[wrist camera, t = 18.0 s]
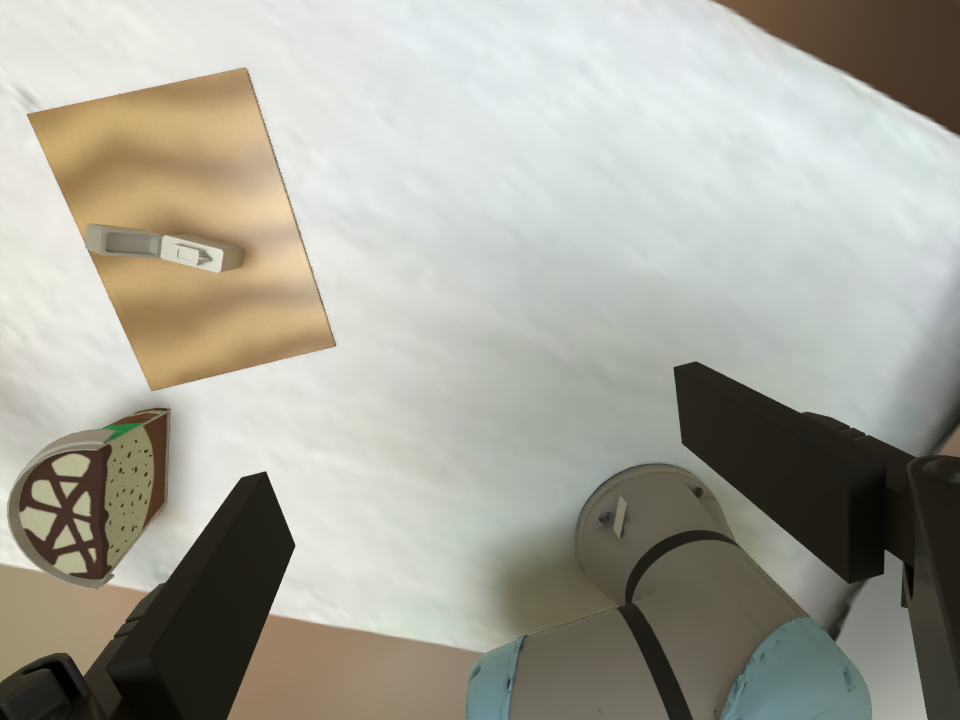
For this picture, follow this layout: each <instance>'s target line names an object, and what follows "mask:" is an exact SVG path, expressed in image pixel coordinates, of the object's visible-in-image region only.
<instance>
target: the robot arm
mask: <svg viewBox="0 0 960 720" xmlns="http://www.w3.org/2000/svg"><path fill="white" fill-rule="evenodd" d="M674 376H675V385H676V393H677V402H678V411H679V420H680V429H681V438H682V444H683V445H684V446H686V447H687V448H688V449H689V450H690V451H692V452H693V453H694V454H695V455H696V456H698V457H699V458H700V459H701V460H702V461H703V462H705V463H706V464H707V465H708V466H709V467H711V468H712V469H713V470H714V471H715V472H717V473H718V474H719V475H720V476H721V477H723V478H724V479H725V480H726V481H727V482H728V483H730V484H731V485H732V486H733V487H734V488H736V489H737V490H738V491H739V492H740V493H742V494H743V495H744V496H745V497H746V498H747V499H749V500H750V501H751V502H752V503H753V504H755V505H756V506H757V507H758V508H759V509H761V510H762V511H763V512H764V513H765V514H767V515H768V516H769V517H770V518H771V519H772V520H774V521H775V522H776V523H777V524H778V525H780V526H781V527H782V528H783V529H784V530H786V531H787V532H788V533H789V534H790V535H792V536H793V537H794V538H795V539H796V540H797V541H799V542H800V543H801V544H802V545H803V546H805V547H806V548H807V549H808V550H809V551H811V552H812V553H813V554H814V555H815V556H817V557H818V558H819V559H820V560H821V561H822V562H824V563H825V564H826V565H827V566H828V567H830V568H831V569H832V570H833V571H834V572H836V573H837V574H838V575H839V576H840V577H841V578H843V579H844V580H845V581H846V582H847V583H849V584H850V583H854V582H857V581H861V580H864V579H868V578H872V577H875V576H878V575H882V574H884V550H885V549H886V550H887V551H889V552H890V553H892V554H893V555H895V556H896V557H897V558H899V559H900V560H902V561H903V571H902V596H901V607H904V608H908V611H909V617H910V623H911V628H912V634H913V639H914V645H915V651H916V657H917V662H918V668H919V673H920V679H921V685H922V690H923V696H924V702H925V707H926V713H927V718H928V720H960V458H959V457H953V456H946V455H929V456H923V457H918V458H916V457H914V456H912V455H910V454H908V453H906V452H904V451H902V450H899V449H897V448H895V447H893V446H891V445H889V444H887V443H885V442H882V441H880V440H878V439H876V438H874V437H872V436H870V435H867V436H866V435H865V433H863V432H861V431H859V430H857V429H855V428H850V426H848V425H846V424H844V423H842V422H840V421H838V420H836V419H834V418H831V417H828V416H823V415H819V414H815V413H811V412H804V413H799V412H797V411H795V410H793V409H791V408H789V407H787V406H785V405H783V404H781V403H779V402H777V401H775V400H773V399H771V398H769V397H767V396H765V395H763V394H761V393H759V392H757V391H755V390H753V389H751V388H749V387H747V386H745V385H743V384H741V383H739V382H737V381H735V380H733V379H731V378H729V377H727V376H725V375H723V374H721V373H719V372H717V371H715V370H713V369H711V368H709V367H707V366H705V365H703V364H701V363H699V362H697V361H696V362H692V363H688V364H684V365H680V366H676V367H674ZM294 548H295V543H294V541H293V538H292V535H291V533H290V530H289V528H288V525H287V523H286V520H285V518H284V515H283V513H282V510H281V508H280V505H279V503H278V500H277V498H276V495H275V493H274V490H273V488H272V485H271V483H270V480H269V478H268V475H267V473H266V471H265V472H261V473H257V474H254V475H250V476H246V477H242V478H241V479H240V480H239V481H238V483H237V484H236V486H235V487H234V488H233V490H232V491H231V492H230V494H229V495H228V497H227V498H226V499H225V501H224V502H223V504H222V505H221V506H220V508H219V509H218V511H217V512H216V513H215V515H214V516H213V518H212V519H211V520H210V522H209V523H208V525H207V526H206V527H205V529H204V530H203V532H202V533H201V534H200V536H199V537H198V539H197V540H196V541H195V543H194V544H193V546H192V547H191V548H190V550H189V551H188V553H187V554H186V555H185V557H184V558H183V559H182V561H181V562H180V564H179V565H178V566H177V568H176V569H175V571H174V572H173V573H172V575H171V576H170V578H169V579H168V580H167V582H166V583H162V584H159V585H158V586H157V587H156V588H155V589H154V590H153V591H151V592H150V593H149V594H148V595H147V596H146V597H145V598H144V599H142V600H141V601H140V602H139V603H138V605H137V606H136V607H135V609H134V610H133V611H132V613H131V614H130V615H129V617H128V618H127V619H126V623H125V624H123V625H122V626H121V627H120V629H119V630H118V631H117V633H116V634H115V635H114V639H113V640H111V641H110V642H109V643H108V645H107V646H106V647H105V649H104V650H103V651H102V653H101V654H100V655H99V657H98V658H97V659H96V661H95V662H94V663H93V665H92V666H91V668H90V669H89V670H88V671H87V673H86V674H85V675H84V677H83V676H82V674H81V673H80V671H79V670H78V668H77V666H76V664H75V663H74V661H73V660H72V658H71V657H70V656H69V655H68V654H67V653H55V654H51V655H48V656H46V657H43V658H40V659H38V660H36V661H34V662H32V663H30V664H28V665H26V666H24V667H22V668H21V669H19V670H18V671H16V672H15V673H13V674H12V675H11V676H9V677H7V678H6V679H5V680H3V681H2V682H1V683H0V720H227V718H228V715H229V713H230V710H231V708H232V705H233V703H234V700H235V697H236V695H237V692H238V690H239V687H240V685H241V682H242V680H243V677H244V675H245V672H246V670H247V667H248V665H249V662H250V659H251V657H252V654H253V652H254V649H255V647H256V644H257V642H258V639H259V637H260V634H261V632H262V629H263V627H264V624H265V621H266V619H267V616H268V614H269V611H270V609H271V606H272V604H273V601H274V599H275V596H276V594H277V591H278V589H279V586H280V584H281V581H282V578H283V576H284V573H285V571H286V568H287V566H288V563H289V561H290V558H291V556H292V553H293V551H294ZM576 548H577V552H578V556H579V558H580V560H581V563H582V565H583V567H584V569H585V571H586V573H587V574H588V576H589V577H590V579H591V580H592V581H593V582H594V584H595V585H596V586H597V587H598V588H599V589H600V590H601V591H603V592H604V593H605V594H606V595H607V596H608V597H609V598H610V599H612V600H613V601H614V602H615V603H616V604H617V605H618V606H619V607H617V608H614V609H611V610H608V611H605V612H602V613H598V614H595V615H592V616H589V617H586V618H583V619H580V620H577V621H574V622H571V623H568V624H565V625H562V626H559V627H556V628H553V629H550V630H547V631H543V632H540V633H537V634H534V635H531V636H527V635H522V636H520V637H519V638H518V639H517V641H514V642H512V643H509V644H506V645H504V646H501V647H499V648H496V649H494V650H491V651H489V652H487V653H485V654H483V655H482V656H481V657H480V658H479V659H478V660H477V661H476V663H475V664H474V666H473V668H472V671H471V674H470V677H469V682H468V689H467V700H466V720H871V717H872V708H871V699H870V694H869V691H868V688H867V685H866V683H865V681H864V679H863V677H862V675H861V674H860V672H859V671H858V669H857V668H856V667H855V665H854V664H853V663H852V662H851V661H850V660H849V659H848V657H847V656H846V655H845V654H844V653H843V651H842V650H841V649H840V648H839V647H838V646H837V644H836V643H835V642H834V641H833V640H832V639H831V638H830V636H829V634H828V633H827V631H826V630H825V628H824V627H823V626H822V625H821V624H820V623H819V622H818V621H816V620H814V619H812V618H811V617H810V616H809V615H808V614H807V613H806V612H805V611H804V610H803V609H802V608H801V607H800V606H799V605H798V604H797V603H796V602H795V601H794V600H793V599H792V598H791V597H790V596H789V595H788V594H787V593H786V592H785V591H784V590H783V589H782V588H781V587H780V586H779V585H778V584H777V583H776V582H775V581H774V580H773V579H772V578H771V577H770V576H769V575H768V574H767V573H766V572H765V571H764V570H763V569H762V568H761V567H760V566H759V565H758V564H757V563H756V562H755V561H754V560H753V559H752V558H751V557H750V556H749V555H748V554H747V553H746V552H745V551H744V550H743V549H742V548H741V547H740V546H739V545H738V544H737V543H736V542H735V539H734V537H733V535H732V532H731V530H730V528H729V526H728V523H727V521H726V519H725V516H724V514H723V512H722V509H721V507H720V505H719V503H718V501H717V500H716V498H715V497H714V495H713V494H712V493H711V491H710V490H709V489H708V488H707V487H706V486H705V485H704V484H703V483H702V482H701V481H700V480H698V479H697V478H696V477H695V476H694V475H692V474H691V473H689V472H687V471H685V470H683V469H680V468H678V467H674V466H670V465H661V464H651V465H643V466H639V467H635V468H632V469H629V470H626V471H624V472H622V473H620V474H618V475H616V476H614V477H613V478H611V479H609V480H608V481H607V482H605V483H604V484H603V485H602V486H601V487H600V488H598V489H597V491H596V492H595V493H594V494H593V495H592V496H591V497H590V499H589V500H588V502H587V503H586V505H585V506H584V508H583V510H582V512H581V515H580V517H579V520H578V523H577V528H576Z"/></svg>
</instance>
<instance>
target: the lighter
mask: <svg viewBox="0 0 960 720" xmlns="http://www.w3.org/2000/svg"><path fill="white" fill-rule="evenodd" d="M85 247H86V248H87V249H88V250H90V251H93V252H95V253H98V254H101V255H108V256H124V257H141V258H159V257H161V258H162V259H164V260H168V261H172V262H176V263H180V264H184V265H188V266H192V267H196V268H200V269H204V270H208V271H212V272H216V273H220V272H224V271H228V270H233V269H237V268H240V267H241V266H242V260H243V254H244V249H243V247H240V246H236V245H233V244H229V243H225V242H221V241H217V240H213V239H209V238H206V237H202V236H198V235H194V234H184V235H165V236H163V237H162V236H161V234H158V233H155V232H152V231H149V230H145V229H137V228H128V227H120V226H111V225H103V224H94V223H90V224H88V225H87V232H86V245H85Z"/></svg>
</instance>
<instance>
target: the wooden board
mask: <svg viewBox="0 0 960 720" xmlns="http://www.w3.org/2000/svg"><path fill="white" fill-rule="evenodd" d="M27 116H28V118H29V120H30V123H31V125H32V127H33V129H34V132H35V134H36V136H37V138H38V140H39V143H40V145H41V147H42V149H43V151H44V154H45V156H46V158H47V160H48V163H49V165H50V167H51V169H52V171H53V174H54V176H55V178H56V180H57V183H58V185H59V187H60V189H61V191H62V194H63V196H64V198H65V200H66V202H67V205H68V207H69V209H70V211H71V214H72V216H73V218H74V220H75V222H76V225H77V227H78V229H79V231H80V234H81V236H82V238H83V240H84V242H85V245H86V232H87V225H88V224H90V223H94V224H103V225H111V226H120V227H128V228H137V229H145V230H149V231H152V232H155V233H158V234H161V236H162V237H163V236H165V235H184V234H194V235H198V236H202V237H206V238H209V239H213V240H217V241H221V242H225V243H229V244H233V245H236V246H240V247H243V249H244V254H243V260H242V266H241V267H240V268H237V269H233V270H228V271H224V272H220V273H216V272H212V271H208V270H204V269H200V268H196V267H192V266H188V265H184V264H180V263H176V262H172V261H168V260H164V259H162V258H161V257H159V258H141V257H124V256H108V255H101V254H98V253H95V252H93V251H90V250H88V251H89V253H90V256H91V258H92V260H93V262H94V265H95V267H96V269H97V271H98V273H99V276H100V278H101V280H102V282H103V285H104V287H105V289H106V291H107V293H108V296H109V298H110V300H111V302H112V304H113V307H114V309H115V311H116V313H117V316H118V318H119V320H120V322H121V324H122V327H123V329H124V331H125V333H126V336H127V338H128V340H129V342H130V344H131V347H132V349H133V351H134V353H135V355H136V358H137V360H138V362H139V364H140V367H141V369H142V371H143V373H144V375H145V378H146V380H147V382H148V384H149V387H150V389H151V391H154V390H158V389H163V388H167V387H171V386H175V385H179V384H183V383H187V382H191V381H195V380H199V379H203V378H208V377H212V376H216V375H220V374H224V373H228V372H232V371H236V370H240V369H244V368H248V367H252V366H257V365H261V364H265V363H269V362H273V361H277V360H281V359H285V358H289V357H293V356H297V355H302V354H306V353H310V352H314V351H318V350H322V349H326V348H330V347H334V346H336V345H335V341H334V338H333V335H332V332H331V329H330V326H329V323H328V320H327V317H326V314H325V310H324V307H323V304H322V301H321V298H320V295H319V292H318V289H317V286H316V283H315V279H314V276H313V273H312V270H311V267H310V264H309V261H308V258H307V255H306V252H305V248H304V245H303V242H302V239H301V236H300V233H299V230H298V227H297V224H296V221H295V217H294V214H293V211H292V208H291V205H290V202H289V199H288V196H287V193H286V190H285V186H284V183H283V180H282V177H281V174H280V171H279V168H278V165H277V162H276V159H275V155H274V152H273V149H272V146H271V143H270V140H269V137H268V134H267V131H266V128H265V124H264V121H263V118H262V115H261V112H260V109H259V106H258V103H257V100H256V97H255V93H254V90H253V87H252V84H251V81H250V78H249V75H248V72H247V69H246V68H240V69H236V70H231V71H226V72H222V73H217V74H212V75H208V76H203V77H198V78H194V79H189V80H184V81H180V82H175V83H170V84H166V85H161V86H156V87H152V88H147V89H142V90H138V91H133V92H128V93H124V94H119V95H114V96H110V97H105V98H100V99H96V100H91V101H86V102H82V103H77V104H72V105H68V106H63V107H58V108H54V109H49V110H44V111H40V112H35V113H30V114H27Z"/></svg>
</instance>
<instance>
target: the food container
mask: <svg viewBox="0 0 960 720" xmlns="http://www.w3.org/2000/svg"><path fill="white" fill-rule="evenodd" d="M169 430H170V409H165V408H154V409H149V410H144V411H139V412H136V413H134V414H132V415H130V416H128V417H126V418H123V419H121V420H119V421H117V422H115V423H113V424H111V425H109V426H107V427H104V428H102V429H98V430H86V431H81V432H77V433H73V434H70V435H67V436H65V437H62V438H59V439H58V440H56V441H54V442H53V443H51V444H49V445H48V446H46V447H45V448H44V449H43V450H42V451H40V452H39V453H38V454H37V455H36V456H35V457H34V458H33V459H32V460H31V461H30V462H29V463H28V464H27V465H26V467H25V468H24V469H23V470H22V472H21V473H20V474H19V476H18V478H17V480H16V482H15V484H14V485H13V488H12V490H11V492H10V495H9V499H8V503H7V518H8V524H9V528H10V531H11V534H12V536H13V538H14V540H15V542H16V544H17V545H18V547H19V548H20V550H21V551H22V552H23V553H24V555H25V556H26V557H27V558H28V559H29V560H30V561H31V562H32V563H33V564H34V565H35V566H37V567H38V568H40V569H41V570H42V571H44V572H45V573H47V574H48V575H51V576H52V577H54V578H56V579H58V580H60V581H63V582H65V583H68V584H71V585H74V586H78V587H82V588H88V589H95V590H97V589H98V588H99V587H100V586H104V585H105V584H106V583H107V582H108V581H110V580H111V579H112V578H113V577H114V575H113V574H111V573H112V571H113V570H114V569H115V568H116V566H117V565H118V564H119V563H120V561H121V560H122V559H123V558H124V556H125V555H126V554H127V552H128V551H129V550H130V549H131V547H132V546H133V545H134V544H135V542H136V541H137V540H138V539H139V537H140V536H141V535H142V534H143V532H144V531H145V530H146V529H147V527H148V526H149V525H150V524H151V522H152V521H153V520H154V518H155V517H156V516H157V515H158V513H159V512H160V511H161V510H162V508H163V507H164V506H165V505H166V503H167V486H168V458H169Z"/></svg>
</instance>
